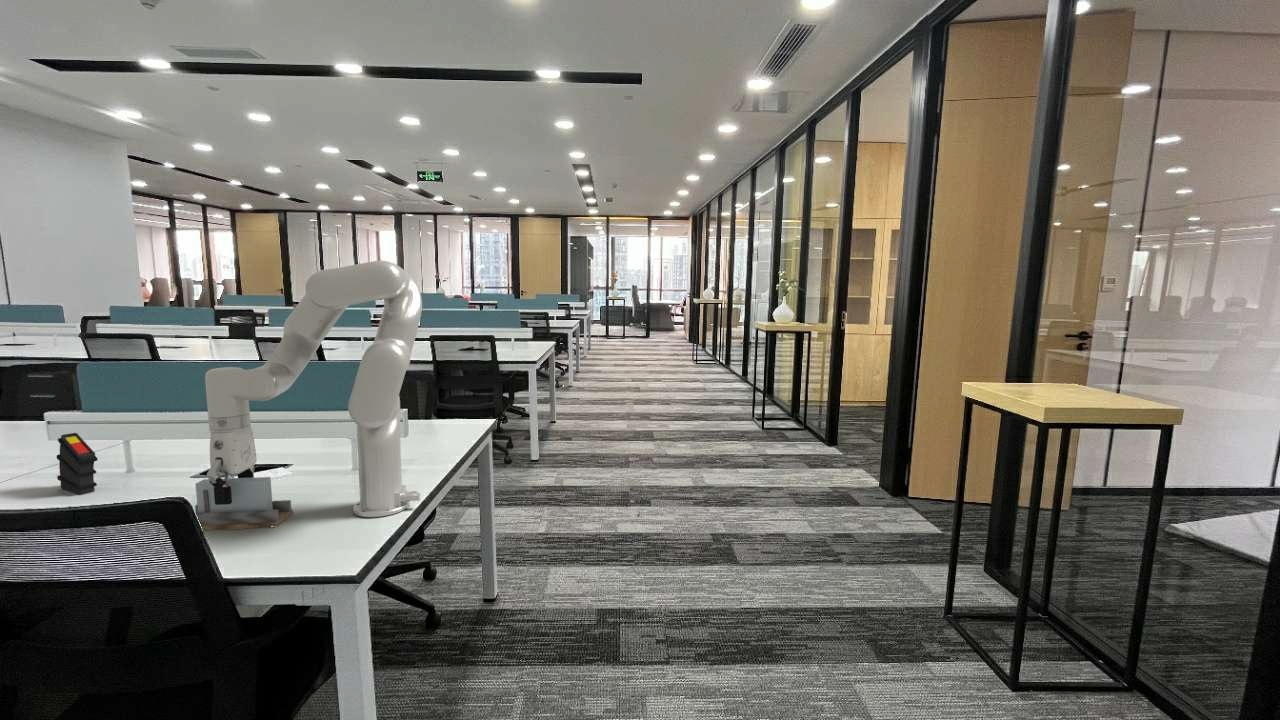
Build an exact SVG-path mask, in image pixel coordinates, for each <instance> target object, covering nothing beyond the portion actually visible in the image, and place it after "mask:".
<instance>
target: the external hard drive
mask: <svg viewBox="0 0 1280 720" xmlns="http://www.w3.org/2000/svg"><path fill="white" fill-rule="evenodd" d="M253 473H254V478H255V477H271V481H274V479H275V480H279V479H278V478H280V479H283V477H284V478H288V476H289V477H292V476H293V472H292V471H290V470H288V469H287V468H285V467H282V466H281V467H277V468H271V469H267V470H261V471H256V472H255V471H254V472H253ZM231 478H238V475H234V476H231Z"/></svg>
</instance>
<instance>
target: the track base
mask: <svg viewBox="0 0 1280 720" xmlns="http://www.w3.org/2000/svg"><path fill="white" fill-rule="evenodd" d="M272 505H273V510H259V511H236V512H212V513H198V506H197V504H195V505H194V507H195V513H196V515H197V517H198V520H199V522H200V524H201V527H202V529H203V531H220V530H219V529H225V530H243V529H244V530H245V528H247V529H259V528H258V527H268V528H272V527H271V526H274V527H273V528H276V527H275V526H277V525H278V526H279V525H281V524H282V523H283V522H284V521H285V520H287V519H288V518H289V517H291V516H292V515H293V514H292V513H294V512H293V509H292V500H291V499H285V500H284V499H283V500H272ZM287 517H288V518H287ZM282 521H283V522H282ZM281 522H282V523H281ZM278 526H277V527H278ZM210 529H211V530H210Z"/></svg>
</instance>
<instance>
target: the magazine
mask: <svg viewBox="0 0 1280 720" xmlns="http://www.w3.org/2000/svg"><path fill="white" fill-rule="evenodd" d="M57 442H58V443H59V454H56V459H57V460H58V461H59V463H58V464H59V467H58V468H59V475H57V476H56V478H57V481H59V482H60V488H61V489H62V490H65V491H67V492H71V493H74V494H76V495H84V494H89V493H93V492H95V487H97V486H98V484H97V483H96V482H95V481H94V477H95V475H94V474H97V470H95V468H94V467H95V465H94V464H95V462H97V461H98V457H97V455H96V452H94V450H93V449H92V448H91V447H90V446H89V445H88V444H87V442H86V441H85V440H84V439H83V438H82V436H81V435H79V434H78V433H77V432H73V433H72V432H70V433H66V434H61V435H60V437H59V438H57Z"/></svg>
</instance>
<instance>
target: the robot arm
mask: <svg viewBox="0 0 1280 720" xmlns="http://www.w3.org/2000/svg"><path fill="white" fill-rule="evenodd" d="M304 290H305V294H304V295H303V296H302V298H301V299H300V301H299V302H298V304H297V305H296V306H295V308H294V309H293V310H292V311H291V313H290V314H289V315H288V317H287V318H286V320H285V322H284V324H283V335H282V338H281V341H280V342H279V343H278V345H277V347H276V349H275V350H274V351H273V353H271V355H270V356H269V358H268V359H267V360H266V362H265V363H264V364H263V365H260V366H258V367H255V368H250V369H244V368H242V367H238V366H237V367H236V366H227V367H226V366H225V367H217V368H211V369H209V370H207V371H206V372H205V375H204V382H205V392H206V393H205V395H206V403H207V404H206V406H207V418H208V428H209V429H208V430H209V432H210V439H209V462H210V463H209V464H210V468H209V469H208V471H207V473H206V476H207V479H209V480H210V483H211V484H212V488H214V499H215V504H216V505H225V504H231V503H232V494H231V486H228V485H229V482H230V479H231V478H232V476H238V478H254V473H255V465H256V464H257V462H258V461H257V453H256V449H257V448H256V444H255V437H254V432H253V429H252V425H251V415H250V414H251V413H250V401H252V402H253V401H255V402H266V401H270V400H273V399H274V398H276V397H278V396H279V395H281V394H282V393H284V392H286V391H288V390H289V389H290V387H292V385H293V384H294V383H295V381H297V379H298V378H299V376H300V375H301V373H302V372H303V371H304V369H305V368H306V367H307V365H308V363H309V362H310V360H312V358H313V356H314V355H315V353H316V351H318V349H319V347H320V346H321V344H322V342H323V341H324V339H325V338H326V336H327V335H329V332H330V331H331V329H332V328H333V327H334V325H336V322H337V321H338V320H339V318H340V317H341V316H342V315H343V314H344V312H345V310H346V309H347V308H348V307H349V306H352V305H353V306H354V305H358V304H364V303H369V302H374V301H378V300H379V301H380V300H383V302H384V303H383V305H384V306H383V311H382V314H381V316H380V320H379V323H378V324H379V325H378V327H377V331H376V334H375V337H374V340H373V343H371V345H369V346H368V347H367V348H366V349H365V351H364V352H363V355H362V357H361V360H360V363H359V366H358V368H357V369H358V370H357V373H356V377H355V380H354V383H353V387H352V390H351V392H350V393H351V394H350V396H349V397H350V398H349V400H348V407H347V408H348V414H349V417H350V418H351V420H352V421H353V422H354V424H356V442H357V443H356V447H357V464H358V465H357V467H358V484H359V485H358V487H359V488H358V489H359V501H357V502H356V503H355V504H354V505H353V507H352V511H353V513H354V514H355V515H356V516H358V517H363V518H380V517H386V516H390V515H395V514H398V513H400V512H403V511H404V510H406V509H407V508H408V507H409V506H410V502H420V501H421V493H420V492H419V491H418V490H411V491H409V490H408V489H407V485H403V474H402V450H401V444H402V443H401V399H400V398H401V397H400V392H401V389H402V385H403V382H404V380H405V379H404V378H405V375H406V372H407V370H408V369H409V366H410V363H411V357H412V351H413V348H414V344H415V340H416V337H417V332H418V329H419V326H420V321H421V316H422V311H423V299H422V293H421V291H420V289H419V286H418V284H417V283H416V281H415V280H414V278H413V277H411V275H410V274H409V273H408V272H407V271H406V270H404V269H403V268H402V267H401V266H399V265H398V264H396V263H393V262H391V261H388V260H372V261H368V262H363V263H357V264H356V263H355V264H352V265H345V266H340V267H335V268H328V269H321V270H318V271H316V272H314V273H313V274H311V276H309V278H307V280H306V283H305V287H304ZM222 479H224V481H223V480H222Z"/></svg>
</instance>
